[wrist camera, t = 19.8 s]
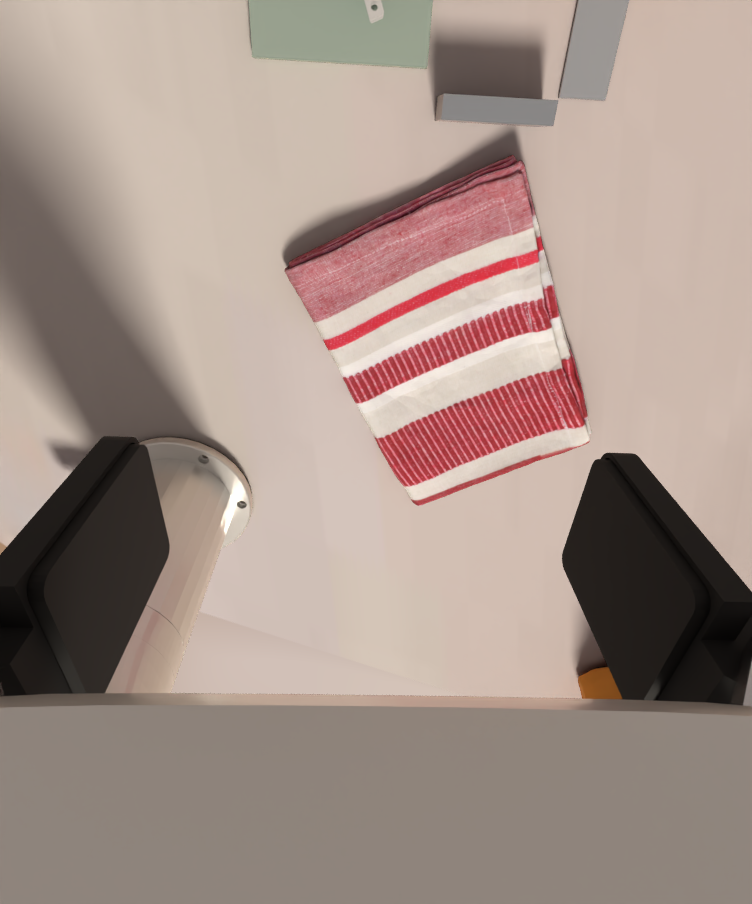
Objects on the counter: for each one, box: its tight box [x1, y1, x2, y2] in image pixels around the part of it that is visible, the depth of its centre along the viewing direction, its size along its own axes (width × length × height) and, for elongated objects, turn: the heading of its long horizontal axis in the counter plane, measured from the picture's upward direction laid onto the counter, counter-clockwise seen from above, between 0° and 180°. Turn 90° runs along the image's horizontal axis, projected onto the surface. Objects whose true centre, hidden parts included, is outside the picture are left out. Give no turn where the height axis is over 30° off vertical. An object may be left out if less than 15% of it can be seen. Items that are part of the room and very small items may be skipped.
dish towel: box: [285, 155, 592, 506], centre depth 39 cm, size 17×23×3 cm
